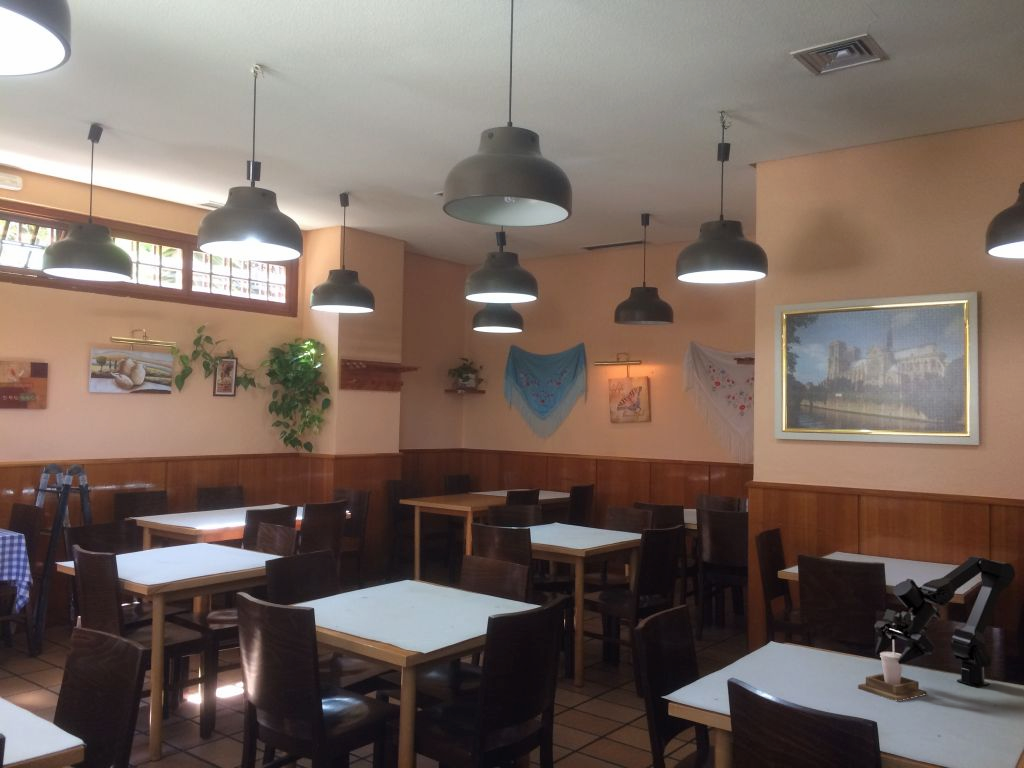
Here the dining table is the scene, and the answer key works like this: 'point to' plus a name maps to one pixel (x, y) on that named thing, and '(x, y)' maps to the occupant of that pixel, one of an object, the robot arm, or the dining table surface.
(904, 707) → the dining table surface
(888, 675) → the smoothie
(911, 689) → the bottle stand
